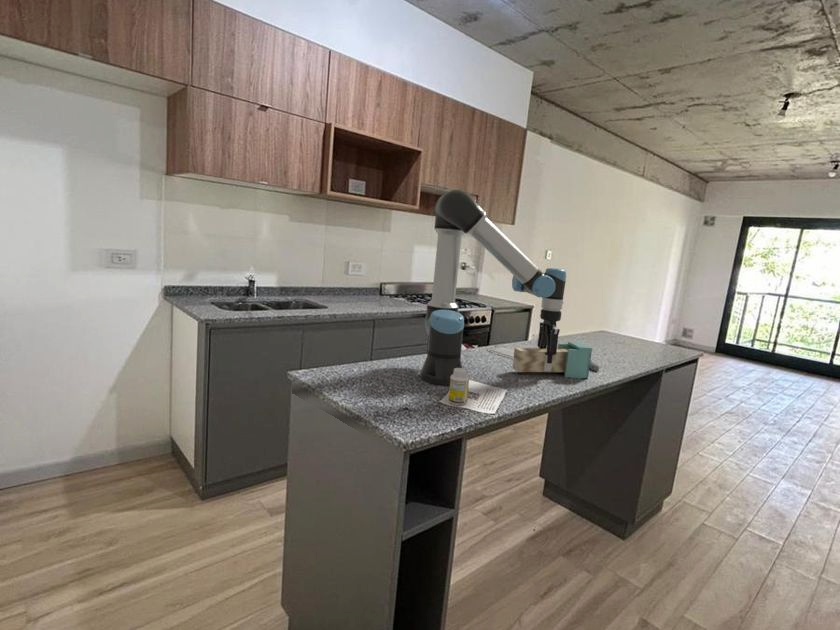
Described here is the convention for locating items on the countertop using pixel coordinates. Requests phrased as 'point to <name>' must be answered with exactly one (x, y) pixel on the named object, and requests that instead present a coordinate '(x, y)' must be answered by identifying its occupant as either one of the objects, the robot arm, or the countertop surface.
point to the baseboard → (504, 352)
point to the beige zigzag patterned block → (538, 360)
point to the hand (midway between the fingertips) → (544, 368)
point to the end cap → (577, 359)
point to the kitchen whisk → (593, 366)
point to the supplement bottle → (458, 387)
